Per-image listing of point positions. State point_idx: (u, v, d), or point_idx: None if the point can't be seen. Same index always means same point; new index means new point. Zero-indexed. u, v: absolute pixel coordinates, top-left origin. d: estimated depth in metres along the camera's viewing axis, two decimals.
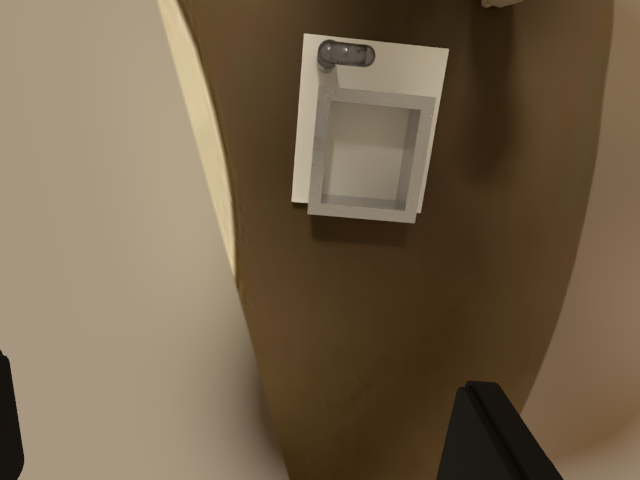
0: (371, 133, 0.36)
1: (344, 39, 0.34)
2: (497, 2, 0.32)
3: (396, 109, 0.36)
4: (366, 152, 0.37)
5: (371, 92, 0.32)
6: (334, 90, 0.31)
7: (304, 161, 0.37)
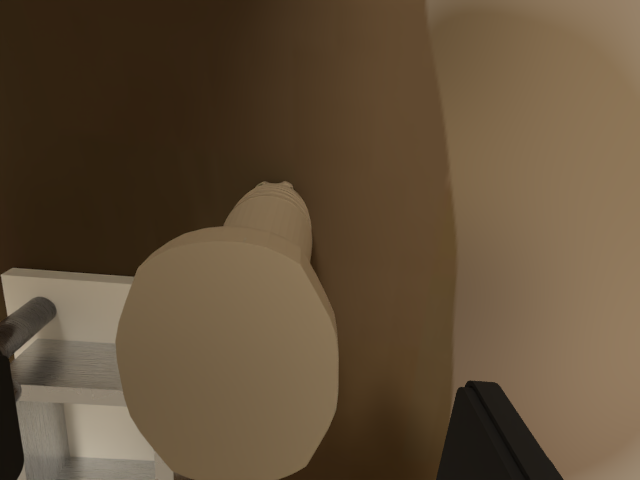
0: None
1: (62, 281, 0.23)
2: None
3: None
4: (124, 410, 0.27)
5: (71, 389, 0.21)
6: None
7: None
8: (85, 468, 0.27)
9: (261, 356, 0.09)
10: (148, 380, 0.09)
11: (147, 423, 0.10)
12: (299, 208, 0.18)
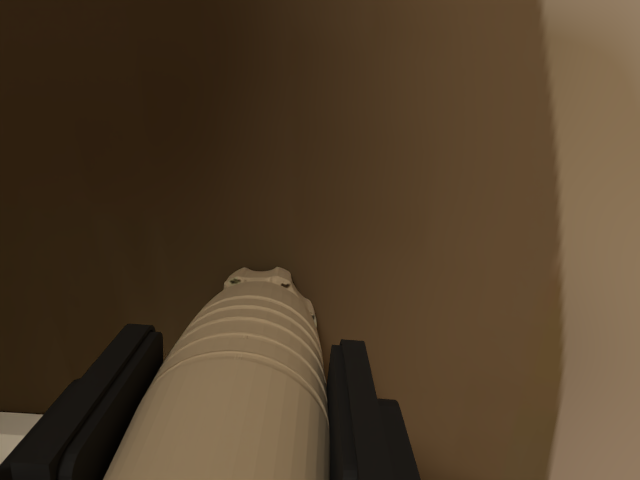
0: None
1: None
2: None
3: None
4: None
5: None
6: None
7: None
8: None
9: None
10: None
11: None
12: (302, 373, 0.08)
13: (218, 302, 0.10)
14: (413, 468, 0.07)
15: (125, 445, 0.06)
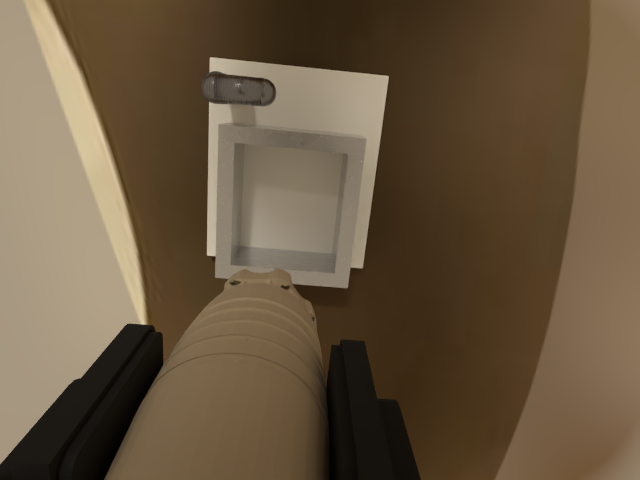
0: (299, 176, 0.30)
1: (259, 64, 0.28)
2: None
3: None
4: (293, 197, 0.31)
5: (285, 132, 0.25)
6: (238, 131, 0.25)
7: None
8: (257, 251, 0.31)
9: None
10: None
11: None
12: (302, 376, 0.08)
13: (218, 304, 0.10)
14: (413, 468, 0.07)
15: (125, 448, 0.06)
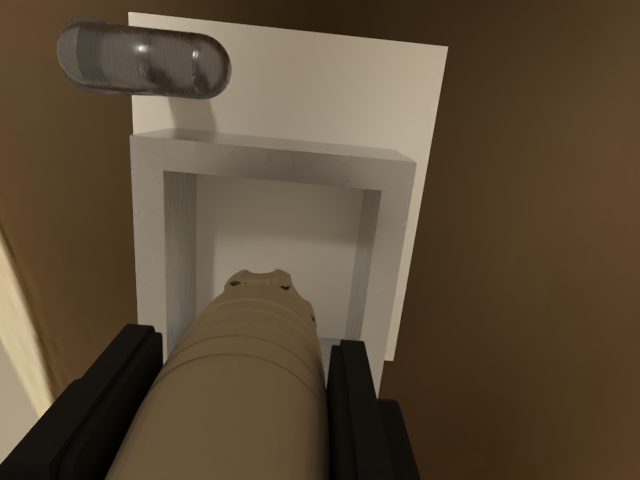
0: (290, 218, 0.18)
1: (218, 25, 0.16)
2: None
3: None
4: (281, 253, 0.18)
5: (260, 151, 0.13)
6: (169, 148, 0.13)
7: None
8: None
9: None
10: None
11: None
12: (302, 376, 0.08)
13: (218, 305, 0.10)
14: (413, 468, 0.07)
15: (125, 449, 0.06)
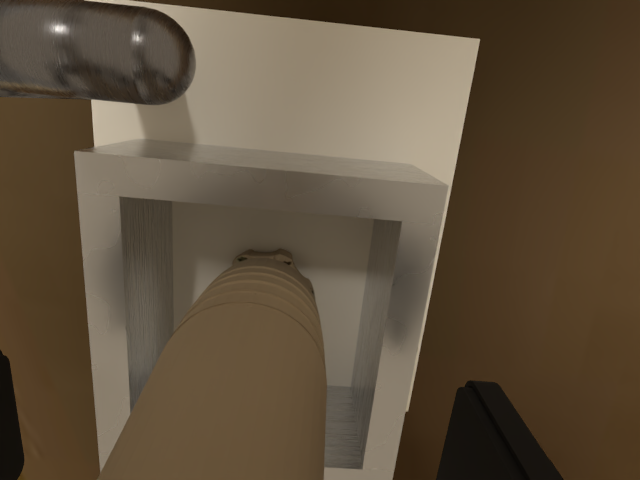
0: (286, 246, 0.15)
1: (197, 12, 0.13)
2: None
3: None
4: None
5: (245, 171, 0.10)
6: (126, 167, 0.10)
7: None
8: None
9: None
10: None
11: None
12: (302, 323, 0.10)
13: (228, 272, 0.12)
14: None
15: (157, 369, 0.08)
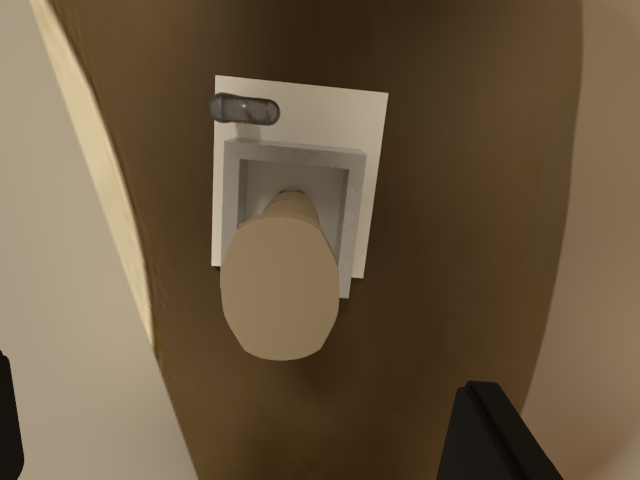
0: (301, 189, 0.31)
1: (263, 82, 0.29)
2: None
3: None
4: None
5: (288, 149, 0.26)
6: (243, 147, 0.26)
7: None
8: None
9: (297, 280, 0.17)
10: (236, 294, 0.17)
11: (233, 320, 0.17)
12: (311, 207, 0.26)
13: (279, 194, 0.28)
14: None
15: None
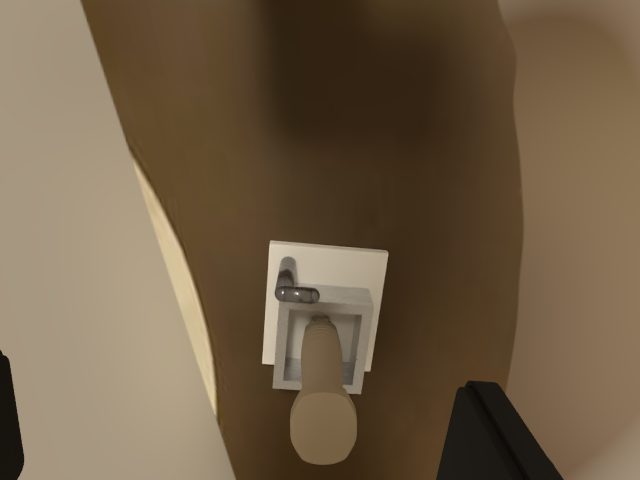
0: (327, 313, 0.44)
1: (302, 247, 0.42)
2: None
3: None
4: None
5: (321, 303, 0.39)
6: (291, 302, 0.39)
7: (272, 334, 0.45)
8: (298, 363, 0.45)
9: (333, 423, 0.30)
10: (298, 430, 0.30)
11: (296, 443, 0.31)
12: (336, 343, 0.39)
13: (313, 327, 0.41)
14: None
15: (307, 354, 0.37)
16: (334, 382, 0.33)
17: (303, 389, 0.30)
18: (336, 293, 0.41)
